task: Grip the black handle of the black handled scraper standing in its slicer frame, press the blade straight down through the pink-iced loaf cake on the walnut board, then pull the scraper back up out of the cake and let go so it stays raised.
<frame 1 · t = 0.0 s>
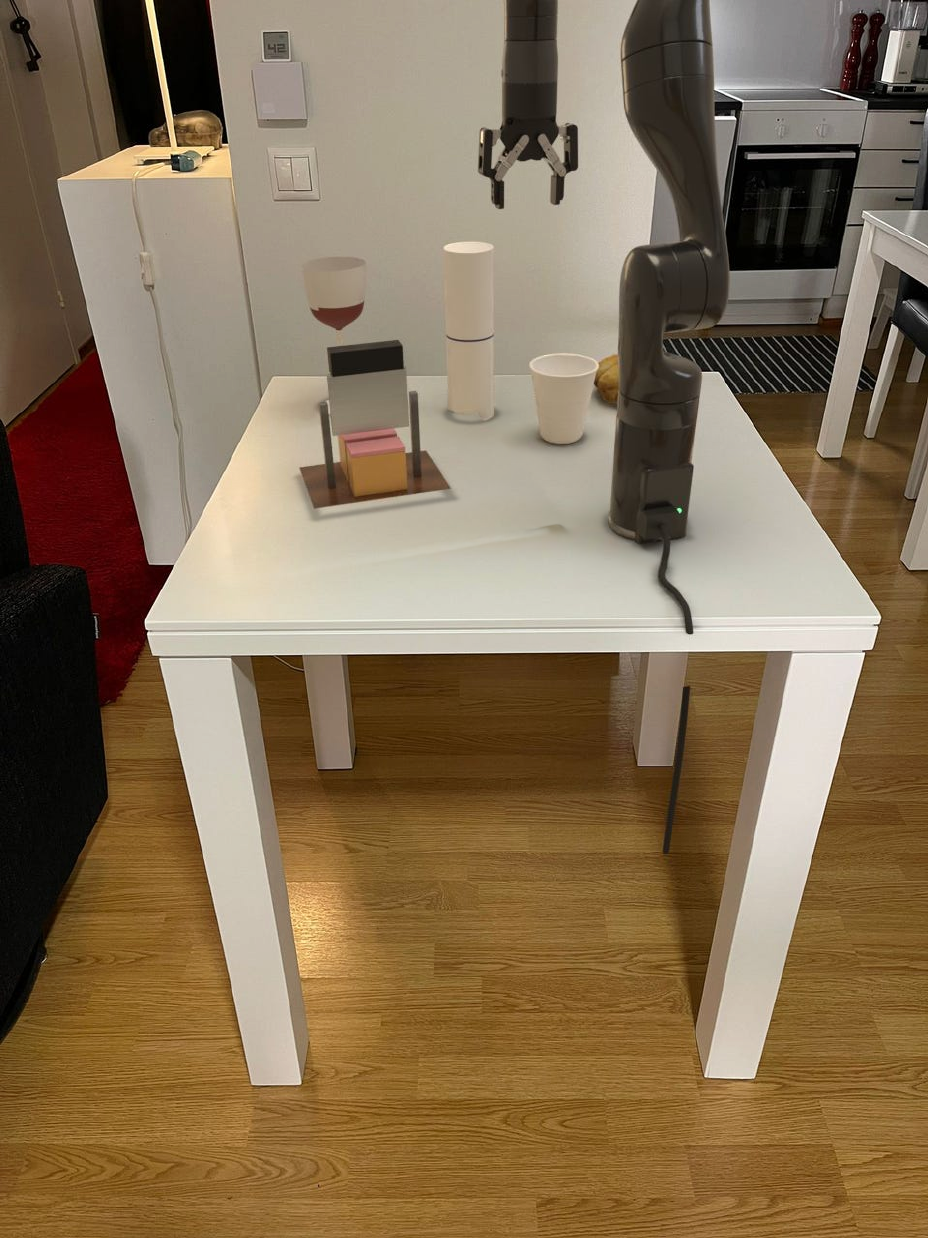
hand: (527, 205, 140), 29 cm above the table, tool pointing down, fingers open, 8 cm apart
cylindrical container: (471, 415, 152), on the table
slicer: (374, 487, 130), on the table
cup: (561, 438, 143), on the table
black handled scraper: (368, 389, 122), point 14 cm above the table, slide at 0.0 cm
cake: (373, 477, 129), resting on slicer
bread roll: (623, 400, 156), on the table
wineglass: (346, 406, 156), on the table
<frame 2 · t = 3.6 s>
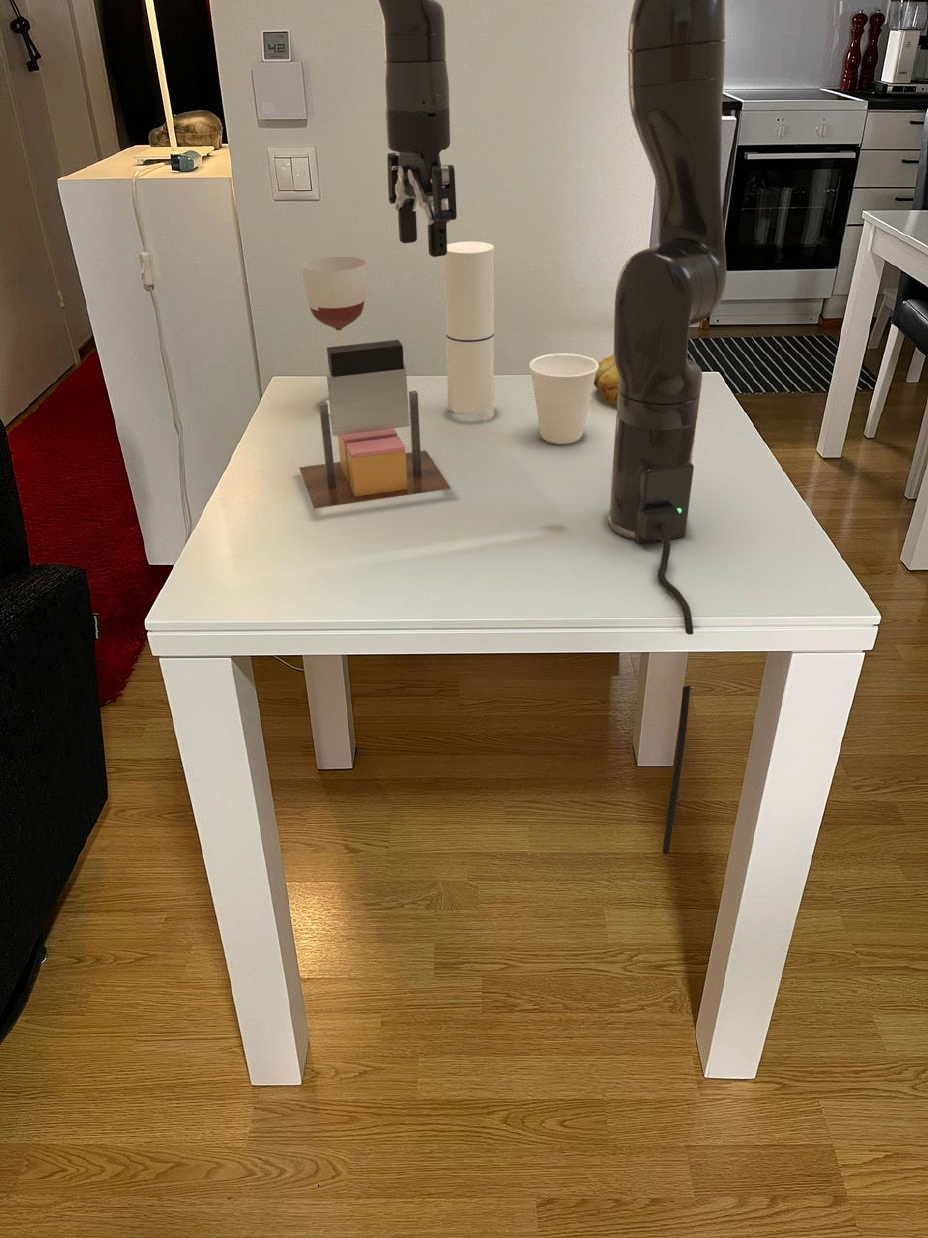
hand: (422, 248, 122), 28 cm above the table, tool pointing down, fingers open, 8 cm apart
nothing on the table moved.
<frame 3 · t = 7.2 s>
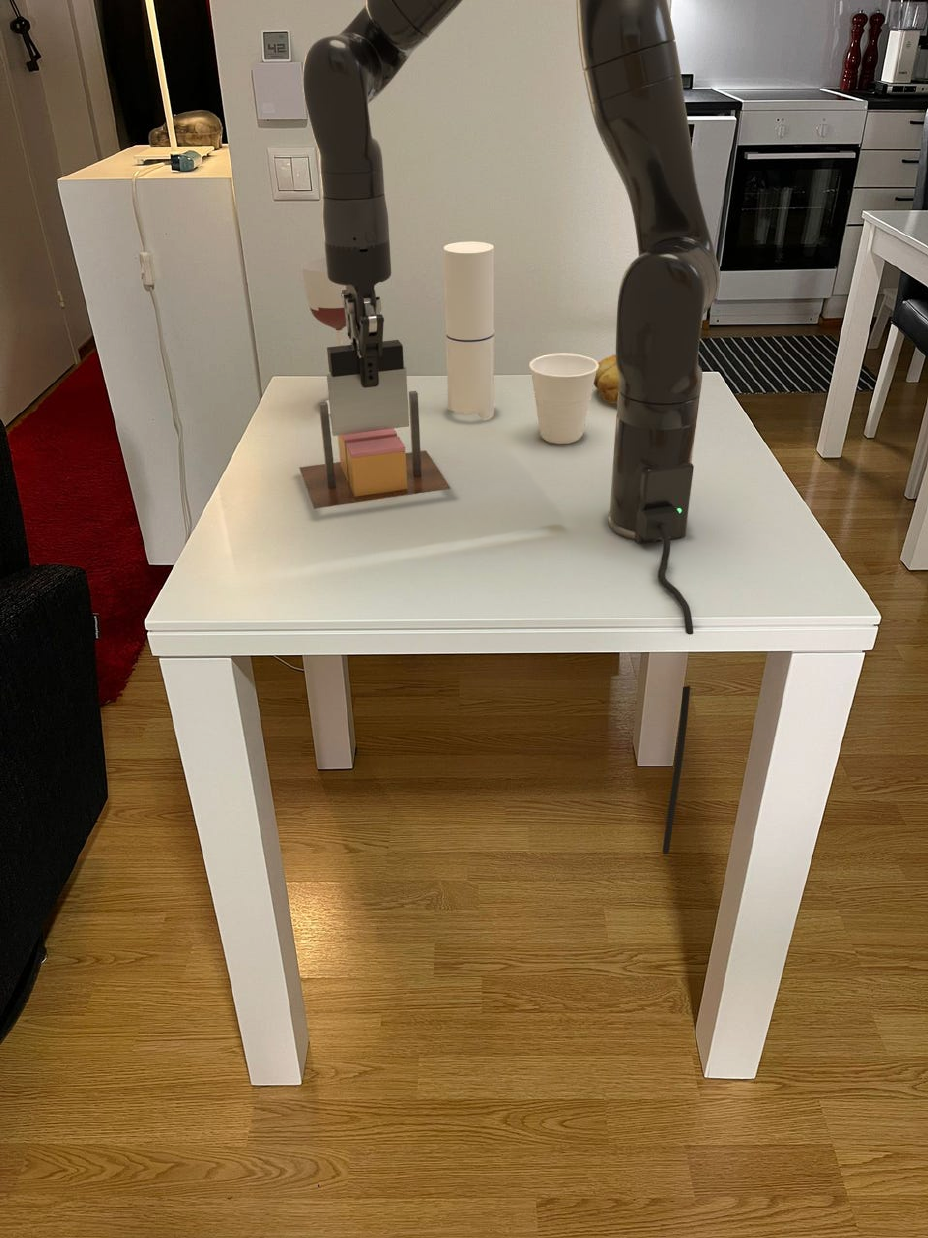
hand: (367, 381, 121), 15 cm above the table, tool pointing down, fingers closed on black handled scraper, 2 cm apart
black handled scraper: (368, 389, 122), point 14 cm above the table, slide at 0.0 cm, touching gripper
everything else where it was.
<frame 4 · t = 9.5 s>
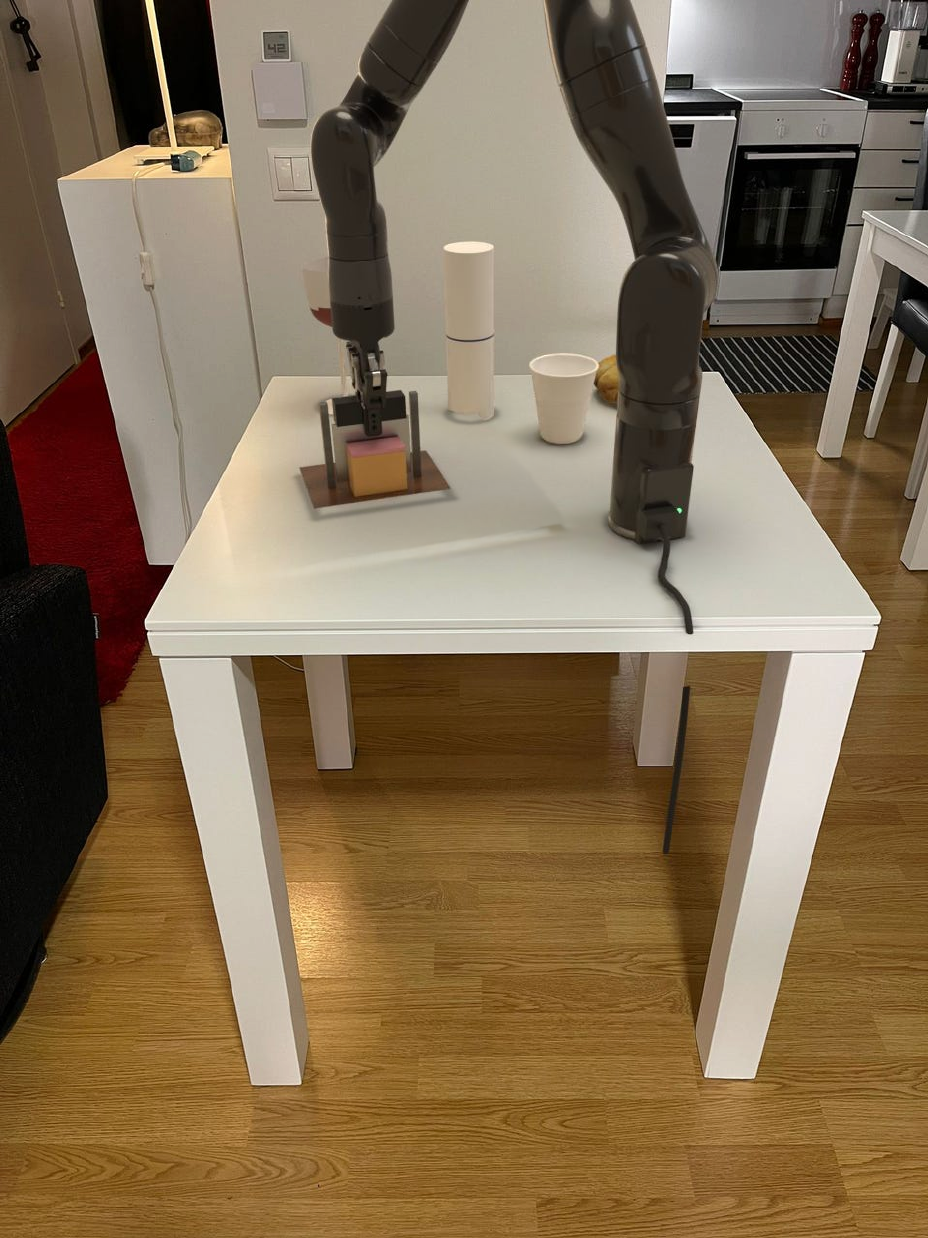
hand: (371, 430, 125), 9 cm above the table, tool pointing down, fingers closed on black handled scraper, 2 cm apart
black handled scraper: (371, 437, 125), point 8 cm above the table, slide at 6.4 cm, touching gripper
everything else where it was.
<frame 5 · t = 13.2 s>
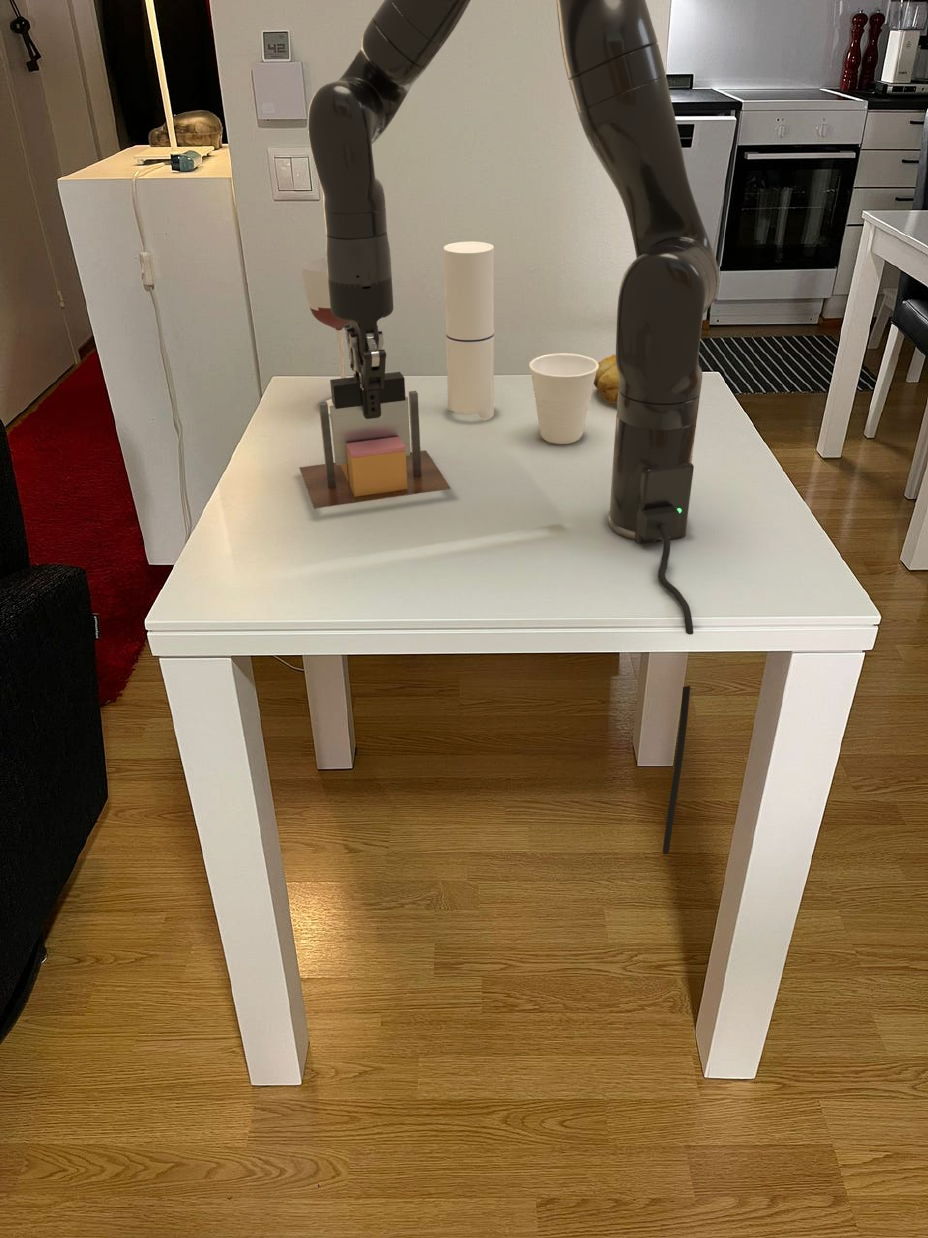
hand: (369, 412, 123), 11 cm above the table, tool pointing down, fingers closed on black handled scraper, 2 cm apart
black handled scraper: (370, 420, 124), point 10 cm above the table, slide at 4.0 cm, touching gripper
everything else where it was.
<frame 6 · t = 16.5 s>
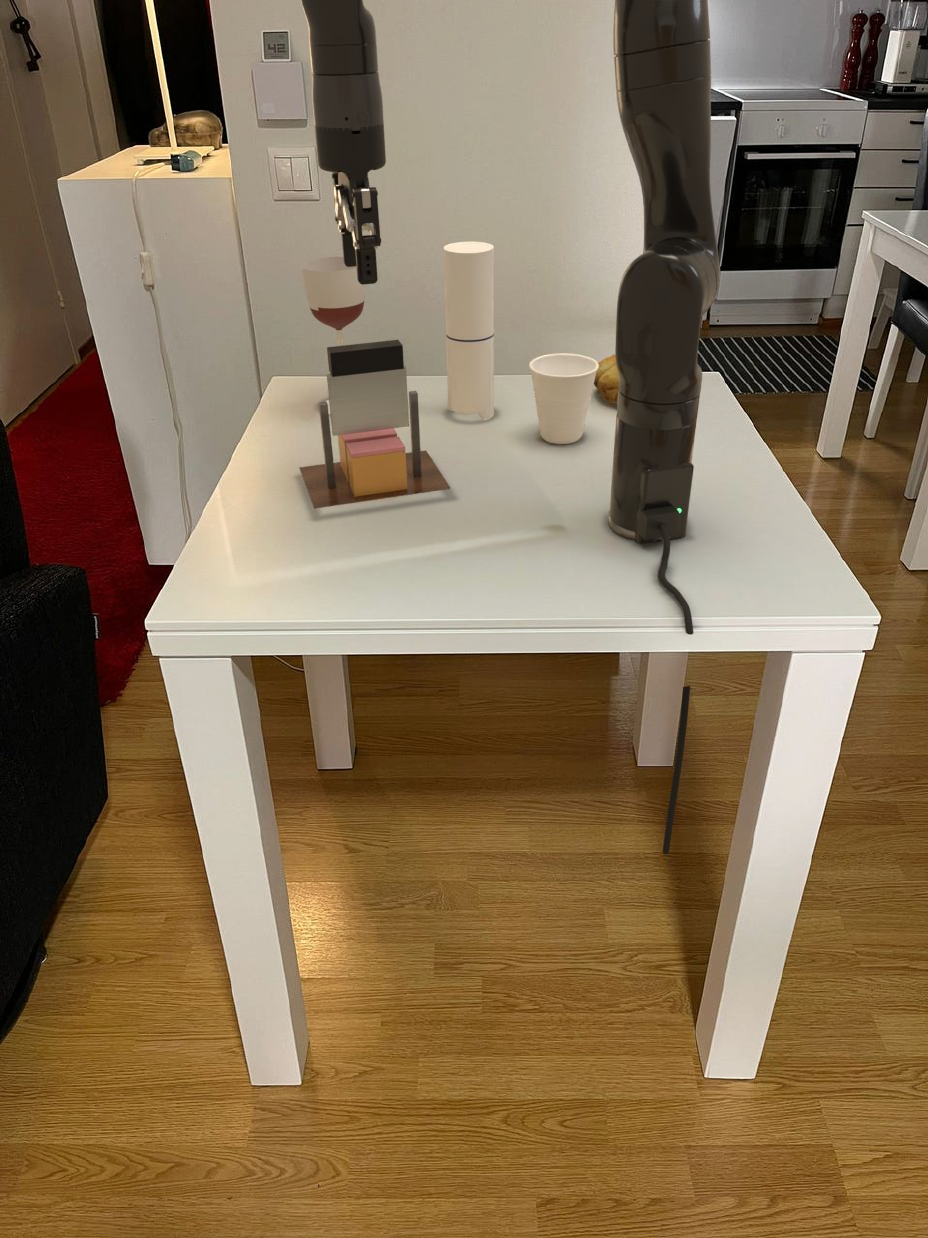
hand: (360, 274, 114), 28 cm above the table, tool pointing down, fingers open, 8 cm apart
black handled scraper: (368, 389, 122), point 14 cm above the table, slide at -0.1 cm
everything else where it was.
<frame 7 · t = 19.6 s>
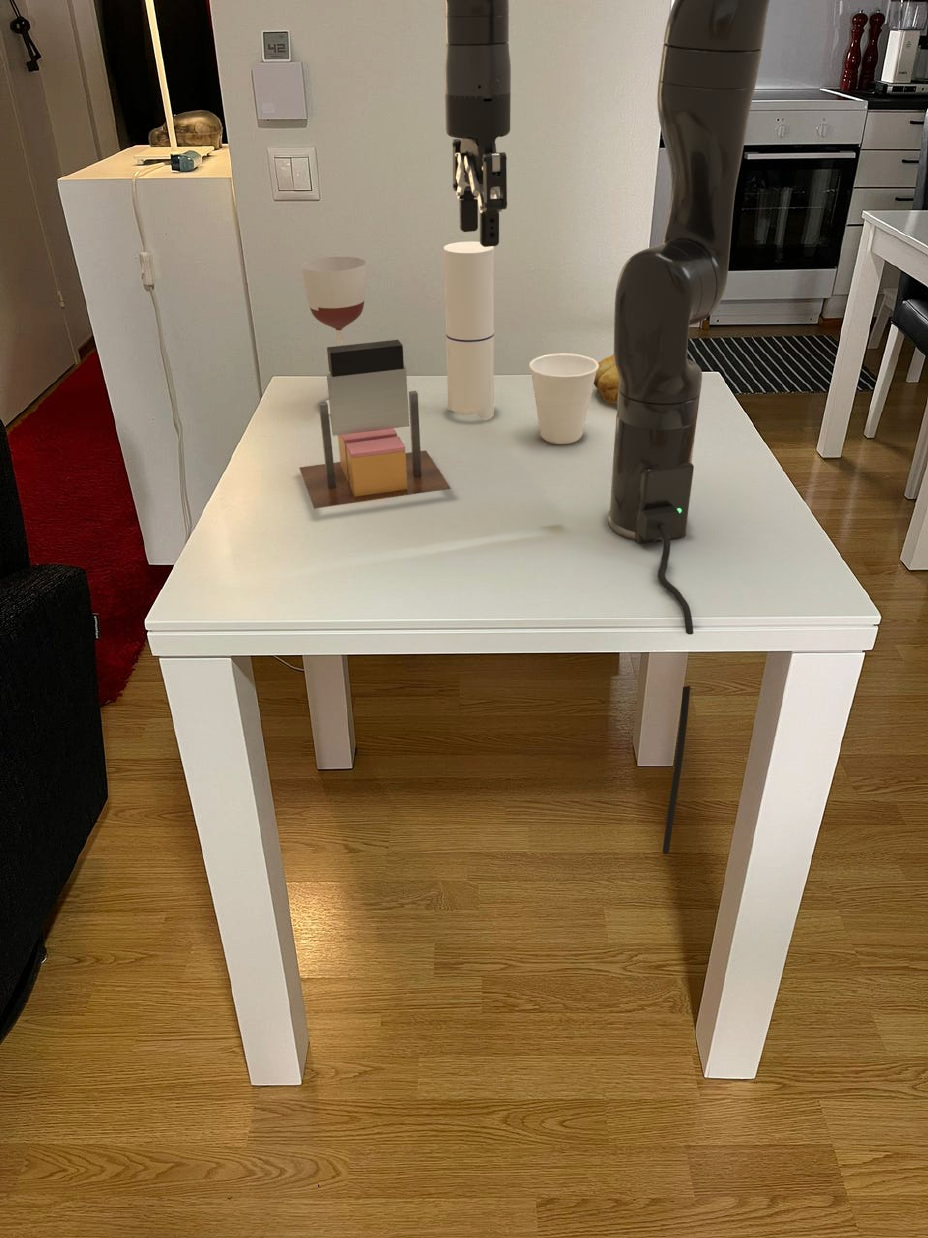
hand: (479, 238, 120), 30 cm above the table, tool pointing down, fingers open, 8 cm apart
nothing on the table moved.
at the end: black handled scraper pulled out 6.5 cm at the most during the clip, back to where it started at the end; black handled scraper slide at -0.1 cm; the gripper is holding nothing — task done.
